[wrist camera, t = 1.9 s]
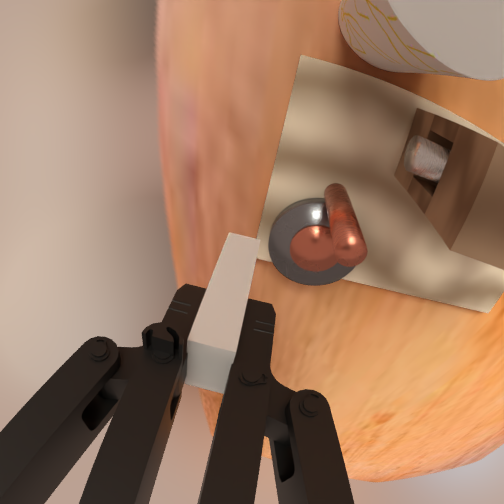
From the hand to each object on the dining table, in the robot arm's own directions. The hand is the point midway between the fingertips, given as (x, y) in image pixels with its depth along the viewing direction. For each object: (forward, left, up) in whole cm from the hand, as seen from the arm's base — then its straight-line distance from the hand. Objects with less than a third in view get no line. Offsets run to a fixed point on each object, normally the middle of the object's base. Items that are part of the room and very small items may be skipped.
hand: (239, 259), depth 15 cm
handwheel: (+3, +6, -11) cm, 12 cm away
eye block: (-2, +16, -12) cm, 20 cm away
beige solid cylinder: (-16, +7, -12) cm, 21 cm away
